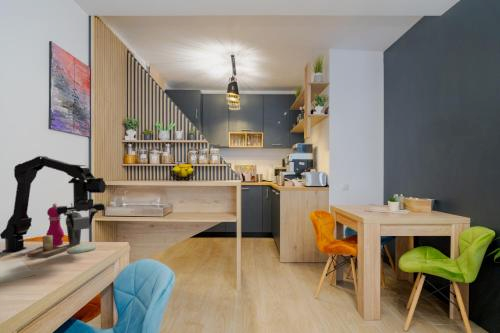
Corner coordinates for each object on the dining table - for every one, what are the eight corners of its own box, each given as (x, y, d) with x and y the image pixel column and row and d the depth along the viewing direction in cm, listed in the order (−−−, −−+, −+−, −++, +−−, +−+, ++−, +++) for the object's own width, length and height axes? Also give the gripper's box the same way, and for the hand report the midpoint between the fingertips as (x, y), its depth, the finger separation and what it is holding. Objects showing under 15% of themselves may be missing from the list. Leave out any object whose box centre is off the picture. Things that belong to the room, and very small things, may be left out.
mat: (61, 252, 129) (61, 251, 129) (80, 245, 140) (80, 244, 140) (83, 253, 127) (83, 252, 127) (100, 246, 137) (100, 245, 137)
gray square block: (73, 227, 134) (73, 218, 134) (88, 226, 137) (88, 216, 137) (74, 230, 129) (73, 219, 129) (89, 228, 132) (89, 218, 132)
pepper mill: (67, 242, 146) (66, 202, 146) (56, 246, 139) (55, 204, 139) (54, 242, 147) (53, 202, 147) (42, 246, 140) (41, 204, 140)
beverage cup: (86, 242, 145) (85, 202, 145) (73, 246, 138) (72, 204, 138) (75, 241, 148) (74, 202, 148) (62, 245, 141) (61, 203, 141)
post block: (27, 256, 124) (27, 238, 124) (48, 249, 134) (47, 233, 134) (47, 257, 123) (47, 239, 122) (66, 250, 132) (66, 233, 132)
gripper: (56, 195, 121) (56, 233, 121) (106, 193, 132) (106, 227, 132) (56, 193, 130) (56, 229, 130) (102, 191, 141) (103, 223, 141)
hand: (81, 227), depth 133 cm, fingers closed on gray square block, 6 cm apart
